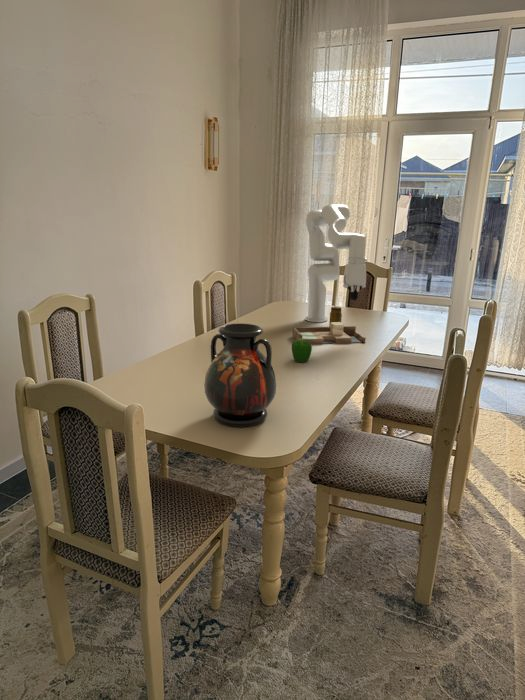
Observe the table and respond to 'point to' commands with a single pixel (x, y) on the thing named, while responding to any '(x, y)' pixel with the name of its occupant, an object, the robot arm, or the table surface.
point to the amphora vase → (240, 376)
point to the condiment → (335, 315)
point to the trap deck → (327, 335)
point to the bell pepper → (301, 350)
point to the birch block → (336, 328)
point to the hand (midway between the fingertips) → (353, 299)
